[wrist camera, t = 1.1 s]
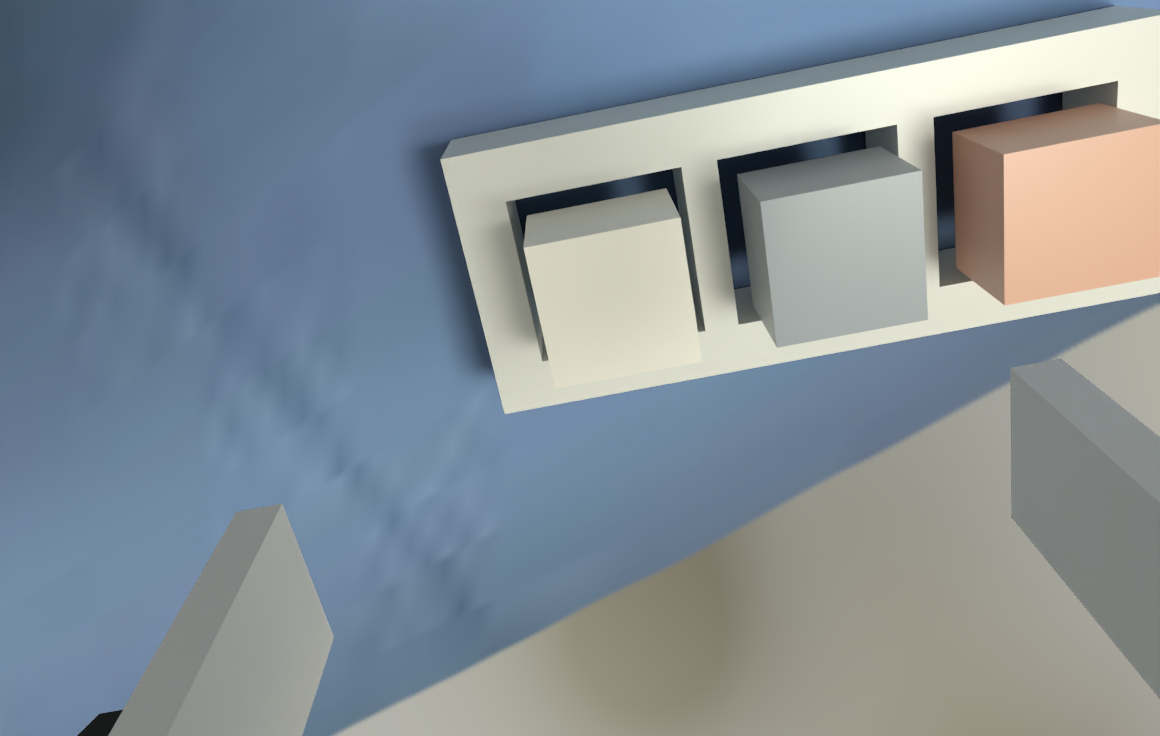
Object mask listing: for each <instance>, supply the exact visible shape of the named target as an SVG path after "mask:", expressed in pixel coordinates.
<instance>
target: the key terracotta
mask: <svg viewBox="0 0 1160 736" xmlns="http://www.w3.org/2000/svg"><path fill="white" fill-rule="evenodd" d="M952 139H953V175H954V211H955V247H956V268H957V269H958V270H959V271H961V272H962V273H963V274H965V275H966V276H967V277H968V278H970V279H971V280H972V281H974V282H975V283H976V284H977V285H979V286H980V287H981V288H983V289H984V290H985V291H986V292H988V293H989V294H990V295H992V296H993V297H994V298H996V299H997V300H998V301H999V302H1001V303H1002V304H1003V305H1010V304H1015V303H1021V302H1026V301H1031V300H1037V299H1042V298H1048V297H1053V296H1058V295H1064V294H1069V293H1074V292H1080V291H1085V290H1091V289H1096V288H1101V287H1107V286H1112V285H1117V284H1123V283H1128V282H1134V281H1139V280H1144V279H1150V278H1155V277H1160V119H1156V118H1153V117H1149V116H1145V115H1141V114H1138V113H1134V112H1130V111H1127V110H1123V109H1119V108H1115V107H1112V106H1108V105H1104V104H1101V103H1097V104H1092V105H1086V106H1081V107H1076V108H1071V109H1066V110H1061V111H1056V112H1051V113H1046V114H1041V115H1036V116H1031V117H1025V118H1020V119H1015V120H1010V121H1005V122H1000V123H995V124H990V125H985V126H980V127H975V128H969V129H964V130H959V131H954V132H952Z"/></svg>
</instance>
